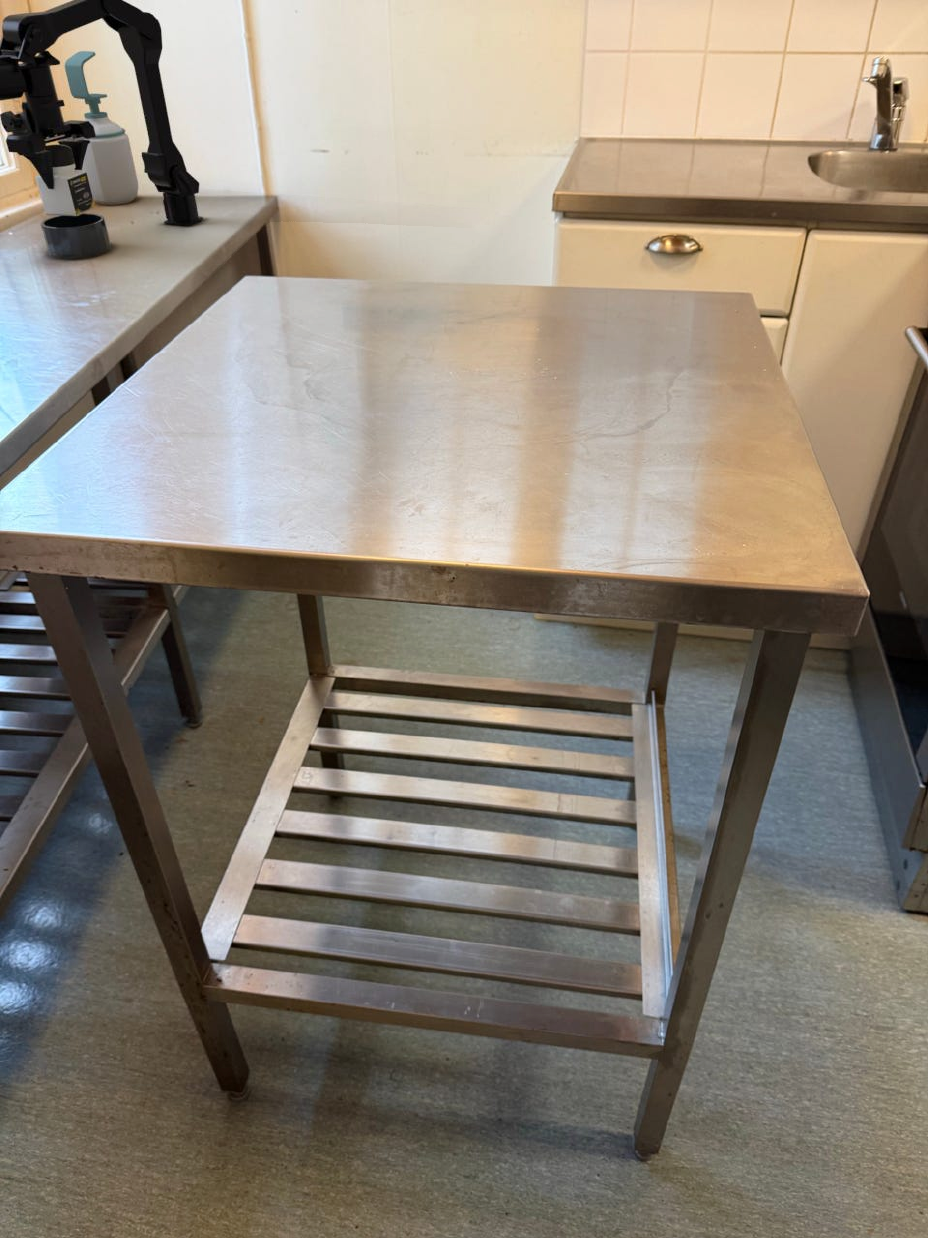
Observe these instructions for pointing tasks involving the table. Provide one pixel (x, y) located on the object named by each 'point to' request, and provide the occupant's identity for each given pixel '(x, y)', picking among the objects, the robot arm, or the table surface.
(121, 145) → the soap bottle
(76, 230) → the dark grey round bowl
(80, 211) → the medicine bottle
